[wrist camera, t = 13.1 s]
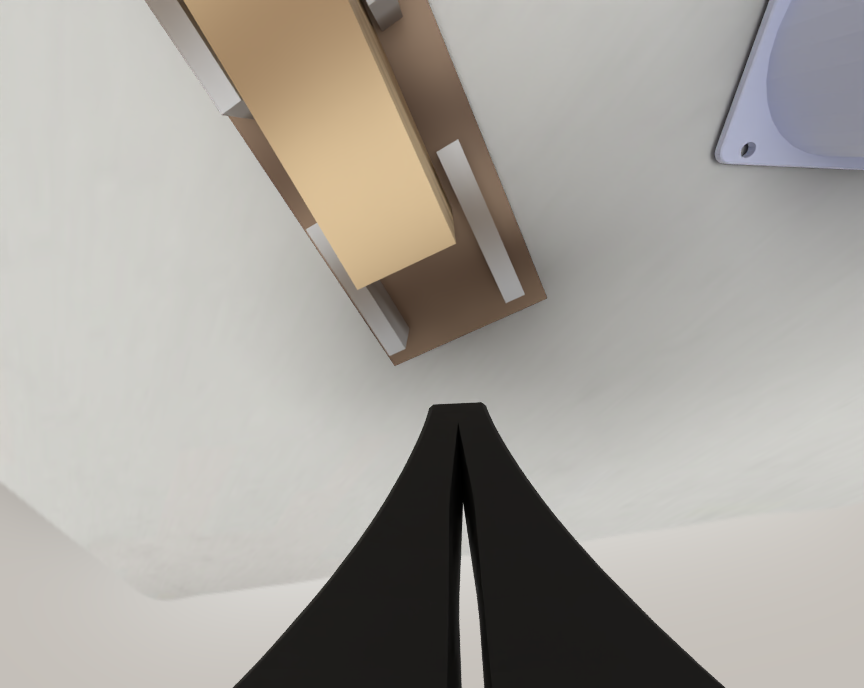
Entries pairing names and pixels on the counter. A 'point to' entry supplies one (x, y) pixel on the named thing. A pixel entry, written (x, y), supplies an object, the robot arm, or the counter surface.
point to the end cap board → (456, 169)
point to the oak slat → (335, 126)
